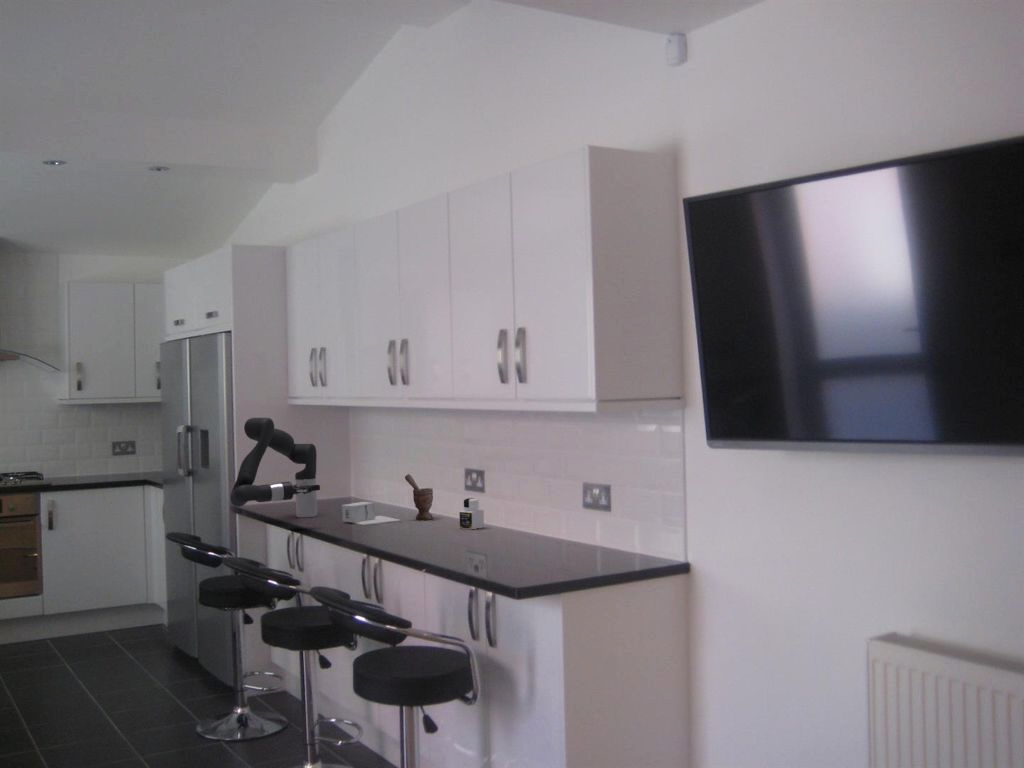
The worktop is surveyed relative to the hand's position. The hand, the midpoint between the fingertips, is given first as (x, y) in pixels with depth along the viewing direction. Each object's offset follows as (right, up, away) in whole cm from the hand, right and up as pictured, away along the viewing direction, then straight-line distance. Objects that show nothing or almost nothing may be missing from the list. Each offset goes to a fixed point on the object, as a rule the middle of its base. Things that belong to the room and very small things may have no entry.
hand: (319, 487), depth 444 cm
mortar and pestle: (+42, -16, +13) cm, 46 cm away
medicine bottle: (+65, -15, -18) cm, 69 cm away
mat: (+21, -16, +13) cm, 29 cm away
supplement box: (+11, -12, +8) cm, 18 cm away
